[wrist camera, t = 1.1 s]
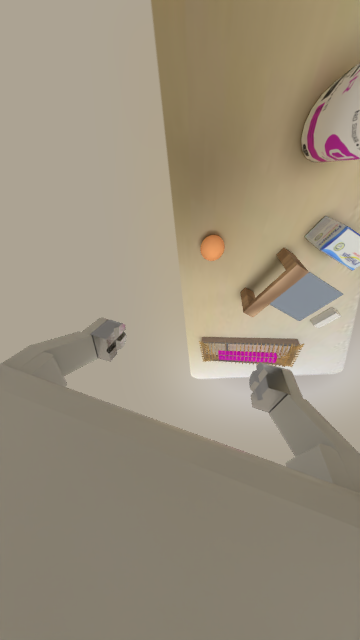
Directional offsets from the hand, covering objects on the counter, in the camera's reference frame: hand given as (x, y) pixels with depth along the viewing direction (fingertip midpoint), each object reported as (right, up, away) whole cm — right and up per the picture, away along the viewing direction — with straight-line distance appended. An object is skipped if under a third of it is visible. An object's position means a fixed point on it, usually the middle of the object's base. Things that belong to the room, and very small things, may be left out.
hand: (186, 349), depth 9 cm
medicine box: (+31, +20, +24) cm, 44 cm away
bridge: (+22, +14, +32) cm, 41 cm away
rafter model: (+26, -9, +54) cm, 61 cm away
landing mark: (+34, +8, +34) cm, 49 cm away
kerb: (+42, +3, +36) cm, 56 cm away
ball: (+7, +19, +27) cm, 34 cm away
